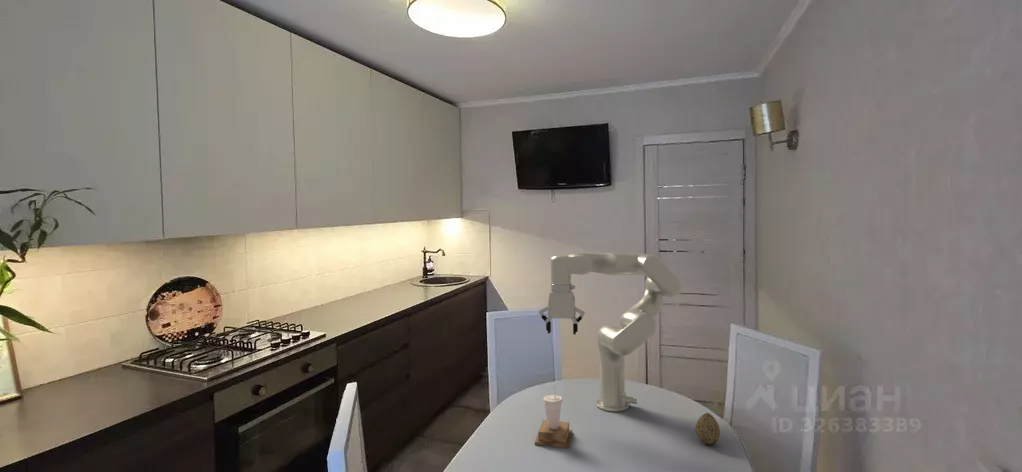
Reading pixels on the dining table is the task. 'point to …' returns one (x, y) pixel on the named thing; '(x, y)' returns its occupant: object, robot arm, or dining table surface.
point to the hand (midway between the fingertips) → (561, 333)
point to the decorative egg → (707, 429)
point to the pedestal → (554, 435)
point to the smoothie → (552, 409)
